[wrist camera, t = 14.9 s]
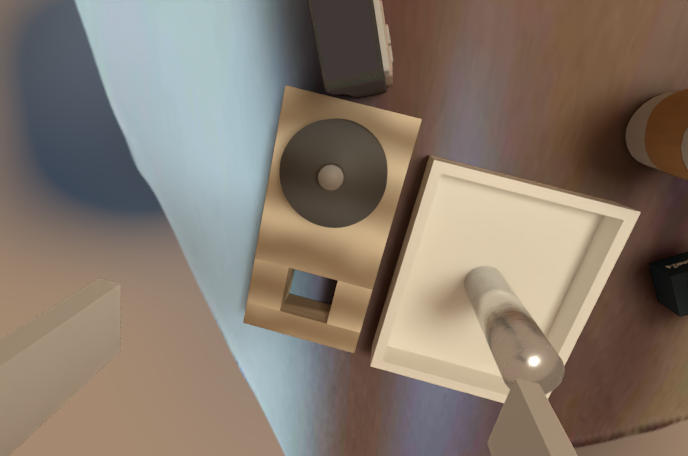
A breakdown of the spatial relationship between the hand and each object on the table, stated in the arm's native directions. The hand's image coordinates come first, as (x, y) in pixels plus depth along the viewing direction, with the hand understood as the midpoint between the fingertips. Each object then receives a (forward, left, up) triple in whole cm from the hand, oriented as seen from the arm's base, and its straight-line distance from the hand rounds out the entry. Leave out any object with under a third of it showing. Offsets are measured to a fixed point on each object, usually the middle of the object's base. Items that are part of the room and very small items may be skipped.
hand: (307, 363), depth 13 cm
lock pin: (+6, +14, -27) cm, 31 cm away
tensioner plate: (+4, -3, -28) cm, 28 cm away
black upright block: (-14, -4, -28) cm, 32 cm away
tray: (+6, +14, -28) cm, 32 cm away
